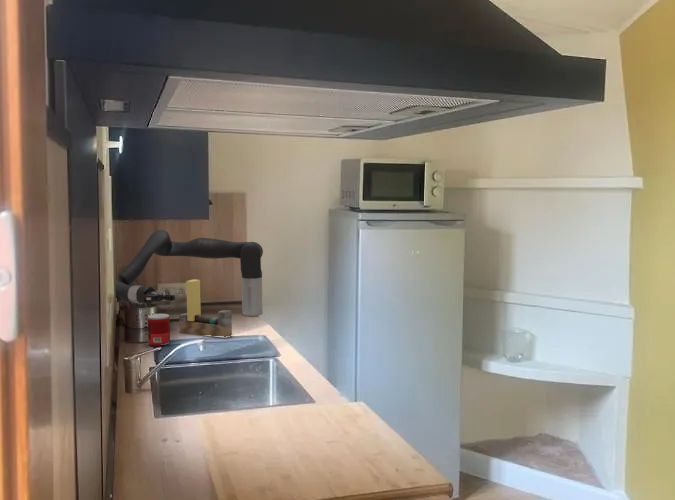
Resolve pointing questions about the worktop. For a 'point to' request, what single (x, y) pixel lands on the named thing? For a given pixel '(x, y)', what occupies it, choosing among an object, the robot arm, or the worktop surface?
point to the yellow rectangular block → (193, 299)
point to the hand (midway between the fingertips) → (173, 298)
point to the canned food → (158, 329)
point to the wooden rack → (207, 324)
